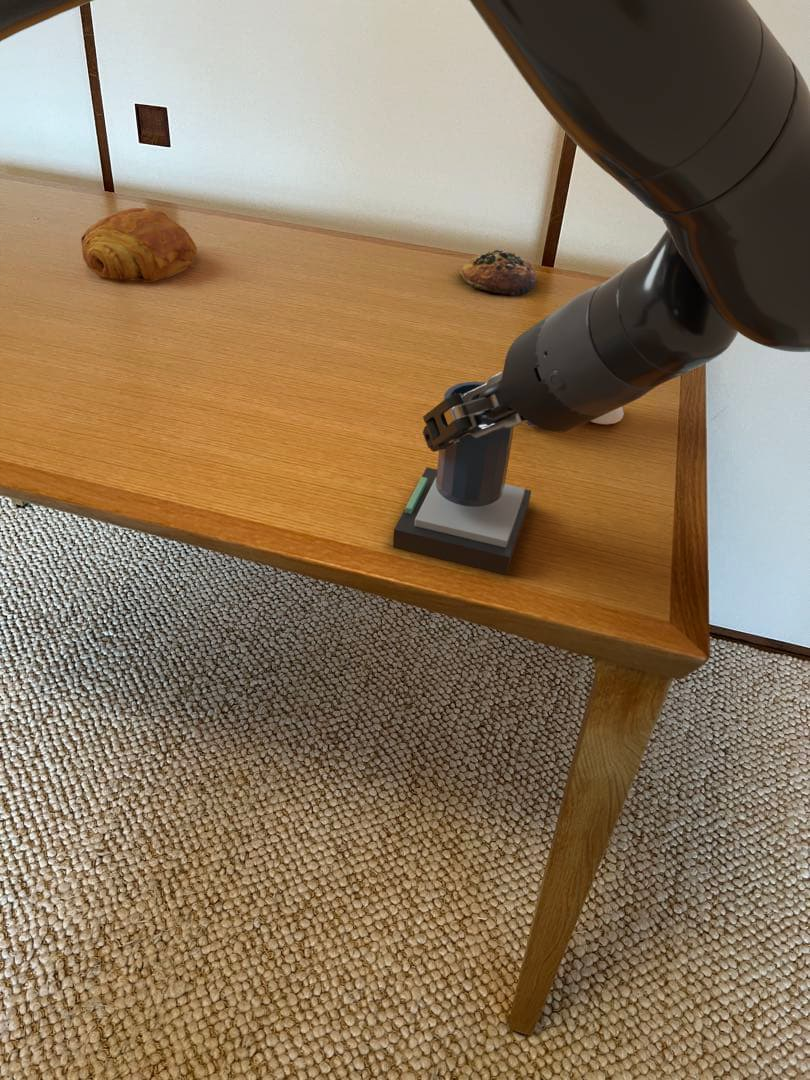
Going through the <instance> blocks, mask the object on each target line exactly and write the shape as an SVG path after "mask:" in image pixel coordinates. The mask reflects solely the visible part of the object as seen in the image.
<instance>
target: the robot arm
mask: <svg viewBox="0 0 810 1080" xmlns="http://www.w3.org/2000/svg"><path fill="white" fill-rule="evenodd" d="M93 1H95V0H0V43H2V42H3V41H5V40H7V39H9V38H11V37H13V36H15V35H17V34H19V33H21V32H23V31H25V30H27V29H30V28H32V27H34V26H37V25H39V24H41V23H43V22H46V21H48V20H51V19H53V18H54V17H55V18H56V17H57V16H59V15H62V14H64V13H67V12H69V11H71V10H74V9H77V8H79V7H81V6H83V5H86V4H88V3H91V2H93ZM468 1H469V3H470V4H471V6H472V7H473V8H474V10H475V11H476V13H477V14H478V16H479V17H480V19H481V20H482V21H483V24H485V26H486V28H488V30H489V32H490V33H491V34H492V36H493V38H494V39H495V41H496V42H497V43H498V45H499V46H500V47H501V49H502V51H503V52H504V54H505V55H506V56H507V58H508V59H509V61H510V63H512V65H513V66H514V67H515V69H516V71H517V72H518V74H519V75H520V76H521V78H522V79H523V81H524V82H525V83H526V85H527V86H528V87H529V89H530V90H531V91H532V93H533V94H534V96H535V97H536V98H537V99H538V101H539V102H540V103H541V104H542V106H543V107H544V108H545V110H546V111H547V112H548V113H549V115H551V117H552V118H553V119H554V121H555V122H556V123H557V124H558V125H559V127H560V128H561V129H562V130H563V131H564V132H565V133H566V135H567V136H568V137H569V138H570V139H571V140H572V141H573V143H574V144H575V145H576V146H577V147H578V148H579V149H580V150H581V152H582V151H583V153H584V154H585V155H586V156H587V157H588V158H589V159H590V160H591V161H593V162H594V163H595V164H596V165H597V166H598V167H599V168H601V169H602V170H603V171H604V172H605V173H606V174H608V175H609V176H610V177H611V178H612V179H614V181H616V182H617V183H618V184H619V185H620V186H621V187H623V188H624V189H625V190H626V191H627V192H629V193H630V194H631V195H632V196H633V197H634V198H636V199H637V200H638V201H639V202H640V203H641V204H643V206H644V207H646V208H647V209H648V210H650V212H652V213H653V214H655V215H656V216H657V217H659V218H660V219H661V221H662V222H663V224H664V225H665V228H666V230H665V231H664V232H663V234H662V235H661V236H660V238H659V240H657V242H656V243H655V244H654V246H653V247H652V248H651V249H650V250H649V251H648V252H646V253H645V254H644V255H642V256H641V257H639V258H638V259H636V260H635V261H633V262H632V263H631V264H629V265H627V266H626V267H624V268H623V269H621V270H620V271H618V272H617V273H616V274H614V275H613V276H611V277H610V278H609V279H607V280H605V281H603V282H602V283H600V284H597V285H596V286H593V287H590V288H589V289H587V290H585V291H582V292H580V293H579V294H578V295H576V296H575V297H573V298H572V299H570V300H569V301H567V302H566V303H565V304H563V305H562V306H560V307H558V308H556V310H554V311H553V312H551V313H550V314H548V315H546V317H544V318H543V319H541V320H540V321H538V322H537V323H536V324H534V325H532V326H531V327H529V328H528V329H526V330H525V331H524V332H522V333H521V334H519V336H517V337H516V339H514V340H513V342H512V343H511V345H510V346H509V348H508V350H507V353H506V356H505V360H504V364H503V369H502V370H503V371H502V370H501V371H500V372H498V373H495V374H494V375H492V376H490V377H489V378H488V380H487V382H486V383H485V384H483V385H481V386H479V387H477V388H475V389H473V390H471V391H469V392H467V393H465V394H463V395H461V393H460V394H455V393H454V394H451V395H449V397H448V398H446V399H445V400H444V399H443V400H442V401H441V402H440V403H438V404H437V405H436V406H435V407H434V408H432V409H431V410H430V411H428V412H427V413H426V414H425V415H423V416H422V418H423V421H424V423H425V426H424V427H423V431H422V435H423V437H424V440H425V443H426V445H427V448H428V449H429V450H430V451H431V452H433V453H436V452H439V450H442V449H443V448H445V447H447V446H449V445H451V444H453V443H454V444H455V443H458V442H460V440H461V439H464V438H466V437H468V436H470V435H472V436H473V437H475V438H478V437H483V436H487V435H489V434H491V433H494V432H496V431H498V430H500V429H503V428H505V427H506V428H510V427H514V428H515V427H518V426H521V425H524V424H526V423H525V422H527V421H529V422H530V423H531V424H533V425H532V426H534V427H536V428H538V429H541V430H542V431H545V432H552V433H564V432H568V431H571V430H574V429H576V428H578V427H581V426H582V425H585V424H587V423H590V421H592V420H594V419H596V418H598V417H600V416H602V415H605V414H607V413H609V412H611V411H613V410H615V409H618V408H620V407H622V408H623V407H624V406H626V405H629V404H631V403H633V402H635V401H636V400H638V399H640V398H642V397H644V396H645V395H646V394H648V393H650V391H652V390H654V389H655V388H656V387H658V386H660V385H662V384H664V383H667V382H669V381H671V380H673V379H675V378H678V377H680V376H681V375H685V374H686V373H688V372H690V371H693V370H694V369H695V370H696V369H697V368H699V367H702V366H704V365H706V364H707V363H710V362H711V361H713V360H714V359H716V358H718V357H719V356H720V355H722V354H723V353H724V352H726V350H728V349H729V347H730V346H731V345H732V343H733V342H734V340H735V339H736V337H737V336H738V333H739V334H740V335H741V336H743V337H744V338H746V339H748V340H750V341H752V342H754V343H756V344H758V345H762V346H764V347H766V348H770V349H774V350H779V351H783V352H790V353H810V89H809V87H808V85H807V82H806V81H805V78H804V77H803V75H802V73H801V71H800V70H799V68H798V66H797V65H796V63H795V62H794V60H793V59H792V58H791V56H789V55H788V53H787V51H786V50H785V48H784V47H783V45H782V44H781V43H780V42H779V40H778V39H777V37H776V36H775V35H774V34H773V32H772V30H770V28H769V27H768V25H767V24H766V23H765V22H764V20H763V19H762V18H761V15H759V13H758V12H757V11H756V10H755V8H754V7H753V6H752V4H751V3H750V1H749V0H468ZM484 412H485V415H486V417H487V419H488V420H489V421H491V422H494V423H493V424H491V425H489V426H488V425H486V423H485V421H484V418H483V416H482V413H484Z"/></svg>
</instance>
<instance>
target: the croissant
mask: <svg viewBox="0 0 810 1080" xmlns="http://www.w3.org/2000/svg"><path fill="white" fill-rule="evenodd" d="M80 240H81V248H82V249H81V250H82V258H83V260H84V263H85V265H86V266H87V267H88V269H90V271H92V272H93V273H95V275H97V276H99V277H101V278H110V279H119V280H124V279H127V280H129V281H136V280H139V282H143V283H149V282H156V281H159V280H161V279H168V278H172V277H173V276H175V275H178V274H179V273H182V272H185V271H186V270H187V269H188V267H189V266H191V265H192V264H193V262H194V261H195V260H196V256H197V254H198V247H197V244H196V242H195V241H194V240H193V239H192V237H191V235H190V234H189V232H188V231H187V230H186V229H185V227H183V226H181V225H180V224H179V223H178V222H176V221H174V220H173V219H171V218H169V217H168V215H167V214H166V213H165V212H163V211H160V210H159V211H158V210H157V211H156V210H152V209H147V208H143V207H131V208H127V209H123V210H118V211H115V212H113V213H111V214H110V215H108V216H106V217H103V218H101V219H100V220H98V221H97V222H96V223H94V224H92V225H91V226H90V227H89V228H87V229H86V231H85V232H84V233H83V234H82V235H81V239H80Z"/></svg>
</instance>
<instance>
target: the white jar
mask: <svg viewBox="0 0 810 1080" xmlns="http://www.w3.org/2000/svg"><path fill="white" fill-rule="evenodd" d="M624 415H625V412H624V408H623V406H622V407H620V408H618V409H615V410H613V411H611V412H609V413H607V414H605V415H602V416H600V417H598V418H596V419H594V420H592V421H589V423H590V422H591V423H594V424H597V425H598V424H599V425H612V424H616V423H618V422H621V421H622V419H623V418H624Z"/></svg>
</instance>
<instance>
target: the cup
mask: <svg viewBox="0 0 810 1080" xmlns="http://www.w3.org/2000/svg"><path fill="white" fill-rule="evenodd" d="M485 383H487V382H486V381H485V382H484V381H465V382H459V383H456V384H454V385H452V386H450V387H448V389H447V390H446V391H445V392H444V394H443V401H444V400H445V399H446V398H448V397H449V395H451V394H454V393H455V394H460V393H461V395H463V394H465V393H467V392H469V391H471V390H473V389H475V388H477V387H479V386H481V385H483V384H485ZM482 416H483V418H484V421H485V423H486V425H488V426H489V425H491V424H493V423H494V422H491V421H489V420H488V419H487V417H486V415H485V412H484V413H482ZM514 430H515V427H510V428H506V427H505V428H503V429H500V430H498V431H496V432H494V433H491V434H489V435H487V436H483V437H478V438H475V437H473V436H472V435H470V436H468V437H466V438H464V439H461V440H460V442H458V443H455V444H454V443H453V444H451V445H449V446H447V447H445V448H443V449H442V450H439V451H438V455H437V465H436V469H437V474H436V488H437V490H438V492H439V493H440V495H442V496H443V497H444V498H445V499H447V500H448V501H450V502H453V503H455V504H458V505H462V506H469V507H480V506H485V505H489V504H492V503H494V502H495V501H497V500H498V499H499V498H500V497H501V496H502V494H503V489H504V486H505V484H506V481H507V473H508V468H509V467H508V466H509V462H510V456H511V448H512V444H513V443H512V442H513V437H514Z"/></svg>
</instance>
